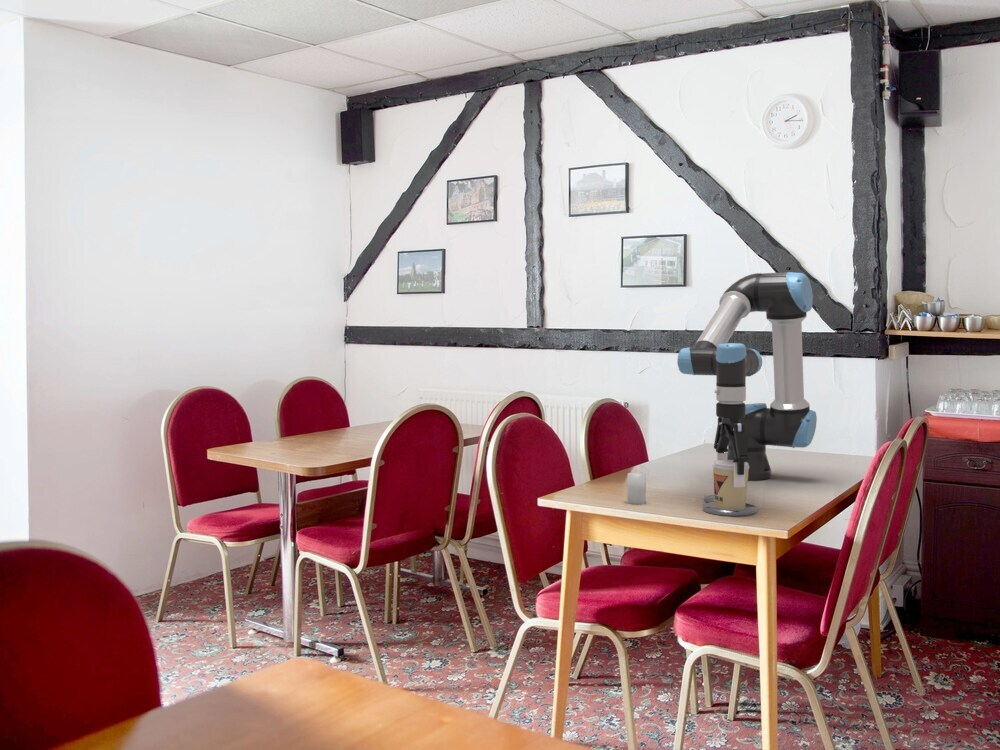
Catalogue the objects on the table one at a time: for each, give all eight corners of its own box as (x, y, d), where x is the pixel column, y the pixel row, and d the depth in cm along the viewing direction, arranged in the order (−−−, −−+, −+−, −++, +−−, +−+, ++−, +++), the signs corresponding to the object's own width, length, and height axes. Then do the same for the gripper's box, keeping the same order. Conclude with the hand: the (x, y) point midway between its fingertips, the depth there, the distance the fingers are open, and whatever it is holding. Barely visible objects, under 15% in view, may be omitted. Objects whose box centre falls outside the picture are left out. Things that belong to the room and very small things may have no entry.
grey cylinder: (643, 500, 259) (643, 472, 258) (647, 504, 254) (647, 475, 253) (625, 500, 258) (625, 472, 258) (629, 504, 253) (629, 475, 253)
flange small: (712, 497, 262) (712, 493, 262) (738, 500, 257) (738, 497, 257) (698, 501, 256) (698, 498, 256) (725, 505, 251) (725, 501, 251)
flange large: (745, 504, 252) (745, 500, 252) (764, 515, 238) (764, 511, 238) (695, 505, 251) (695, 501, 251) (712, 517, 237) (712, 513, 237)
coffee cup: (707, 504, 248) (708, 459, 247) (741, 503, 249) (741, 459, 248) (718, 511, 239) (719, 465, 238) (753, 511, 240) (754, 465, 239)
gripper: (702, 397, 255) (702, 473, 257) (732, 408, 230) (732, 491, 232) (728, 396, 255) (728, 472, 257) (762, 407, 231) (761, 490, 233)
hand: (730, 481), depth 245 cm, fingers open, 13 cm apart
